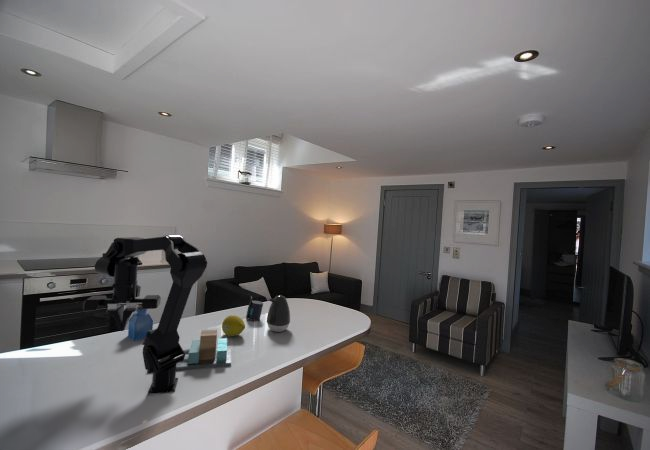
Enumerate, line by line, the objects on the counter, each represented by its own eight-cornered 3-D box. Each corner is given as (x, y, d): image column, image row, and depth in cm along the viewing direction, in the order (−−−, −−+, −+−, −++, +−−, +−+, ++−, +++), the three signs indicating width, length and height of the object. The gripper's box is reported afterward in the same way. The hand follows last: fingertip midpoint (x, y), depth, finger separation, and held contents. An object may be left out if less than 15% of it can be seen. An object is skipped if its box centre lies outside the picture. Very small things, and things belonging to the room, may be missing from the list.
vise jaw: (159, 366, 91) (160, 354, 91) (165, 351, 101) (166, 341, 101) (198, 363, 95) (198, 352, 95) (200, 349, 104) (201, 339, 104)
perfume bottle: (145, 332, 118) (147, 302, 118) (152, 336, 114) (154, 305, 114) (128, 336, 114) (129, 304, 113) (133, 341, 110) (135, 308, 109)
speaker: (242, 320, 139) (246, 298, 139) (246, 316, 144) (249, 295, 145) (258, 323, 138) (262, 301, 138) (261, 319, 144) (265, 298, 144)
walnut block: (215, 358, 99) (216, 335, 98) (198, 360, 97) (200, 335, 97) (215, 352, 103) (217, 329, 103) (200, 353, 102) (201, 330, 102)
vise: (147, 372, 89) (148, 357, 89) (156, 354, 101) (157, 340, 101) (230, 365, 97) (231, 351, 97) (230, 349, 108) (231, 336, 108)
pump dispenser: (261, 328, 131) (263, 294, 131) (281, 324, 138) (283, 291, 138) (273, 336, 123) (276, 299, 123) (294, 331, 130) (296, 296, 130)
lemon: (216, 334, 121) (218, 314, 121) (233, 329, 127) (234, 311, 127) (231, 342, 114) (233, 321, 114) (248, 337, 120) (250, 317, 120)
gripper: (165, 274, 100) (162, 320, 100) (99, 273, 94) (96, 322, 94) (158, 281, 89) (154, 332, 89) (83, 281, 83) (80, 336, 84)
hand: (122, 330), depth 89 cm, fingers closed
